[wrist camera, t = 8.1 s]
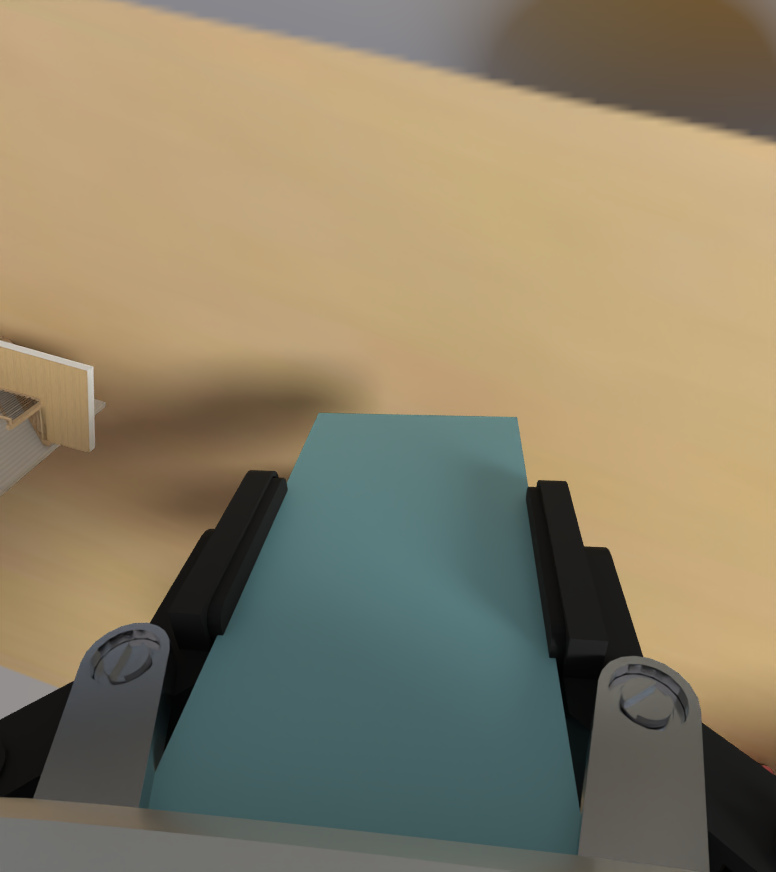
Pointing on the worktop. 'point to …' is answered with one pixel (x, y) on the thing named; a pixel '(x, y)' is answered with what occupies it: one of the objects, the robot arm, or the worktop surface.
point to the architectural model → (42, 409)
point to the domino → (388, 651)
